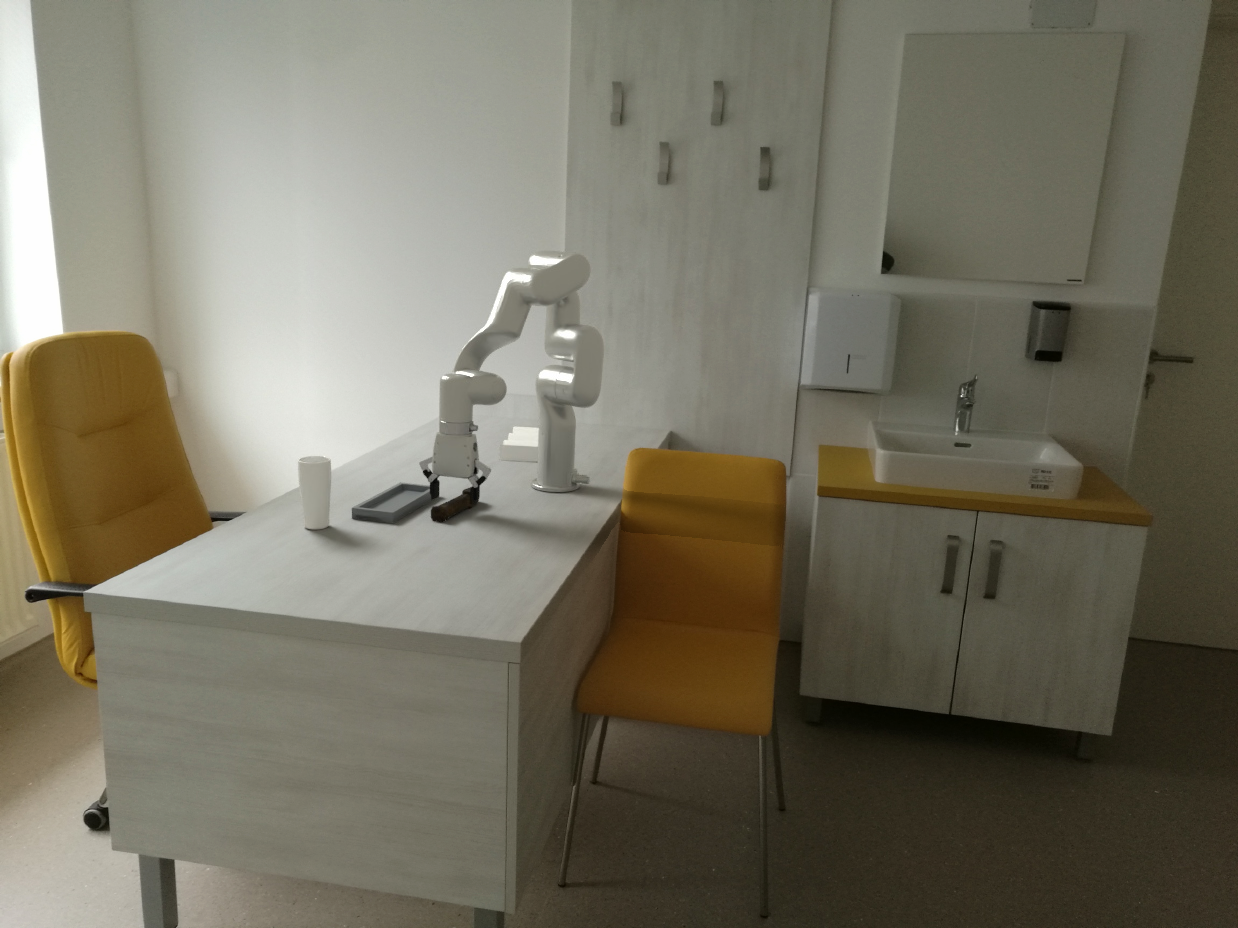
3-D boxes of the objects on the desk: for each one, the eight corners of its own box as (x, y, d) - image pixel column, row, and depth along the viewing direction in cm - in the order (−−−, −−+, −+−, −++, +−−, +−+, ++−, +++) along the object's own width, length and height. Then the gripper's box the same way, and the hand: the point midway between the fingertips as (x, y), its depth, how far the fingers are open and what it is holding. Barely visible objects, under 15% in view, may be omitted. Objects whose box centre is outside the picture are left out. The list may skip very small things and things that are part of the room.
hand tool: (444, 524, 209) (445, 504, 208) (429, 521, 211) (429, 502, 210) (488, 504, 226) (488, 486, 225) (473, 502, 228) (474, 483, 227)
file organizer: (555, 439, 304) (556, 423, 303) (544, 464, 270) (544, 447, 269) (515, 437, 304) (515, 421, 303) (498, 462, 270) (499, 444, 269)
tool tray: (437, 496, 230) (437, 486, 230) (393, 523, 207) (392, 512, 207) (400, 492, 232) (400, 482, 232) (351, 518, 210) (351, 507, 209)
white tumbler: (303, 532, 198) (300, 464, 195) (297, 523, 204) (295, 457, 201) (335, 529, 201) (333, 461, 198) (329, 520, 207) (327, 454, 204)
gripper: (497, 429, 216) (495, 500, 219) (427, 422, 219) (426, 492, 223) (485, 434, 209) (483, 508, 212) (413, 427, 212) (413, 500, 216)
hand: (454, 500), depth 218 cm, fingers open, 9 cm apart
